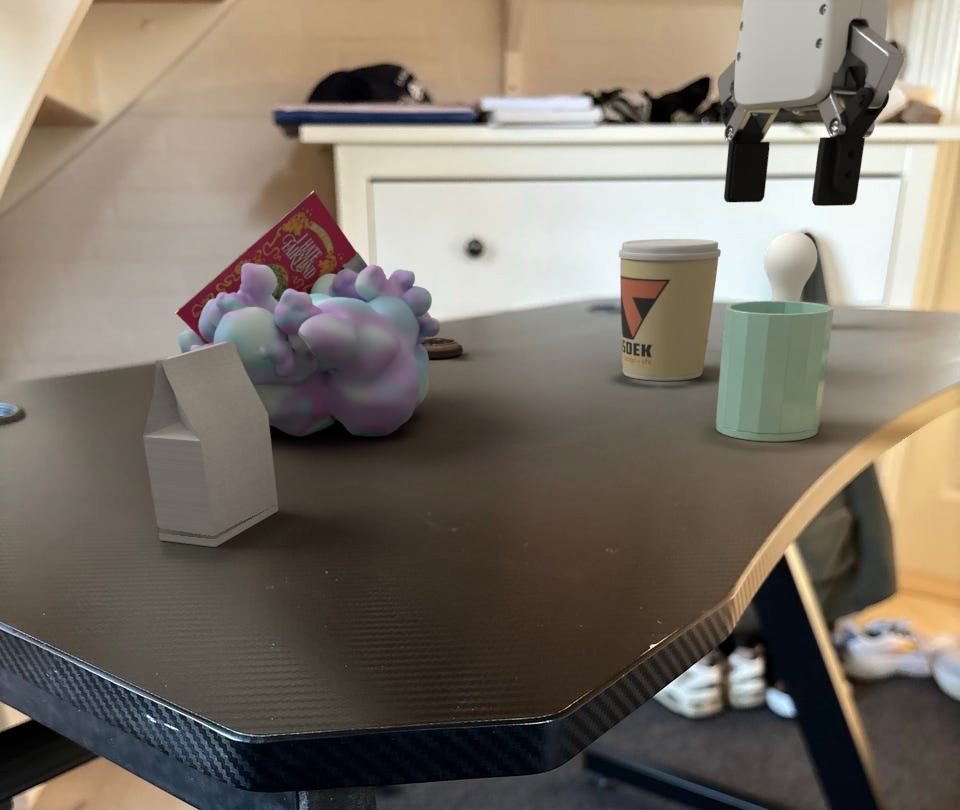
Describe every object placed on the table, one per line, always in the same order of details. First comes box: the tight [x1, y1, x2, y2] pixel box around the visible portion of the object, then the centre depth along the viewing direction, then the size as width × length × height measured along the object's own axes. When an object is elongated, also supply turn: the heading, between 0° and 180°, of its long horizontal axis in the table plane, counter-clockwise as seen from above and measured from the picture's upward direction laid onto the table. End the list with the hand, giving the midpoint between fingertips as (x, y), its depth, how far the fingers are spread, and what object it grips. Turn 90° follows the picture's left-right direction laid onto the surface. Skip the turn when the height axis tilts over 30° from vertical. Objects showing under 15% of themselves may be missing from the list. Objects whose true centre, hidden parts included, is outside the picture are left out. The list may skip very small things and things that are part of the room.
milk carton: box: [142, 341, 279, 548], centre depth 57 cm, size 4×7×10 cm, turn 160°
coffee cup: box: [618, 238, 722, 382], centre depth 96 cm, size 9×9×12 cm
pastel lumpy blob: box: [175, 190, 441, 438], centre depth 79 cm, size 20×22×18 cm
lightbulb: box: [763, 231, 818, 302], centre depth 121 cm, size 6×6×11 cm
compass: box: [420, 337, 464, 359], centre depth 110 cm, size 8×8×7 cm
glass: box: [715, 300, 835, 443], centre depth 75 cm, size 8×8×9 cm
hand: (786, 203), depth 70 cm, fingers open, 9 cm apart
